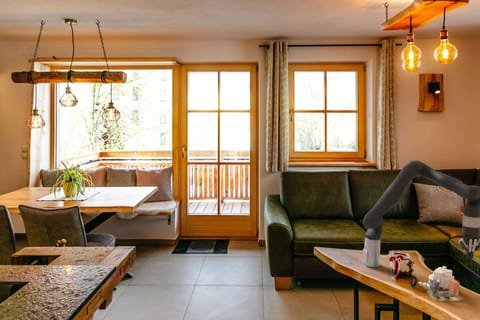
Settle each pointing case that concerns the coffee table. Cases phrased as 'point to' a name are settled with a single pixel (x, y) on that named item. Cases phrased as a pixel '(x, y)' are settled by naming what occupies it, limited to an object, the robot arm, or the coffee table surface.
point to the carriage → (454, 287)
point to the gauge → (442, 293)
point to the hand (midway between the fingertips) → (469, 258)
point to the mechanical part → (442, 277)
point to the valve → (420, 283)
